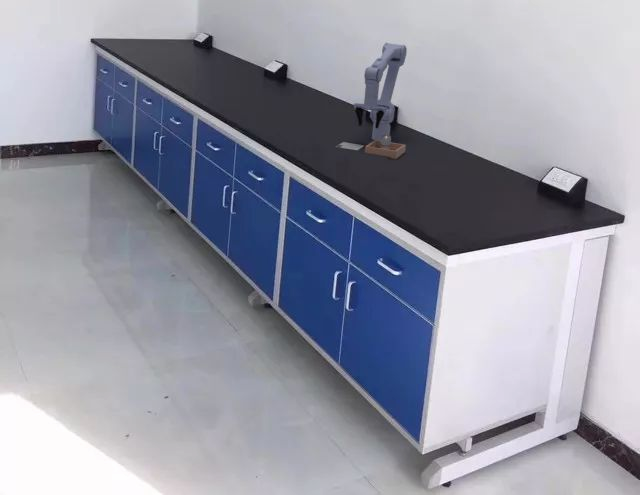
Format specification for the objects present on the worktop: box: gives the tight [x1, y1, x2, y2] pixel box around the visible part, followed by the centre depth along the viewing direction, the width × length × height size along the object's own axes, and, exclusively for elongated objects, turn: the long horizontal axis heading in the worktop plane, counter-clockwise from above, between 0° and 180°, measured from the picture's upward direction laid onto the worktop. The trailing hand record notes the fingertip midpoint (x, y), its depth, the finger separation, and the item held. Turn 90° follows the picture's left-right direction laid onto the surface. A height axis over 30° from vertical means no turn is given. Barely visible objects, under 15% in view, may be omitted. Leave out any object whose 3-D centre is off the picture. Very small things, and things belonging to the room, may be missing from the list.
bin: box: [364, 140, 407, 160], centre depth 340 cm, size 14×14×4 cm
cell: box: [381, 135, 392, 150], centre depth 339 cm, size 4×4×8 cm
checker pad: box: [335, 141, 365, 151], centre depth 345 cm, size 10×10×1 cm
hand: (368, 126), depth 345 cm, fingers open, 7 cm apart
